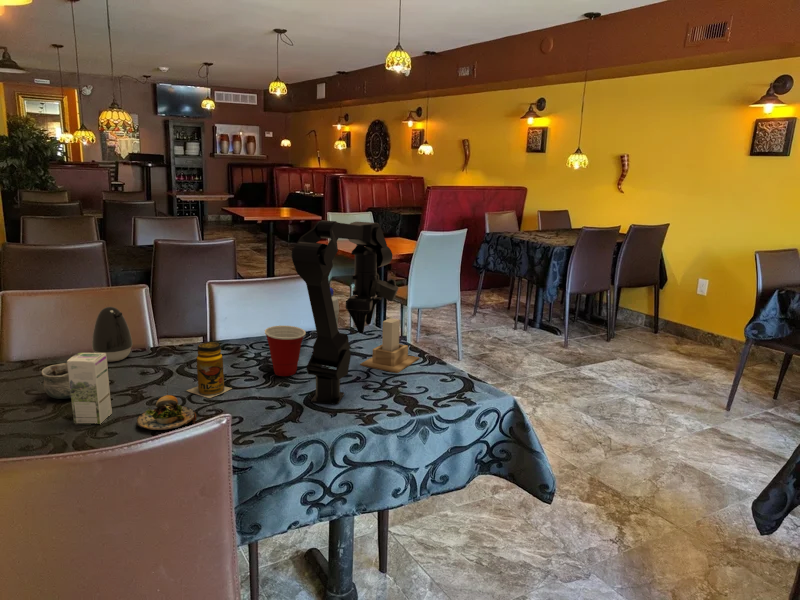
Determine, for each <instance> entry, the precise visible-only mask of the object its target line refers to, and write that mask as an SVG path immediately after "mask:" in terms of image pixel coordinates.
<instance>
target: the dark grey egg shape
mask: <svg viewBox="0 0 800 600" xmlns="http://www.w3.org/2000/svg"><path fill="white" fill-rule="evenodd" d="M130 330H131V329H130V328H129V325H128V323H127V320H126V319H125V316H124V314H123V312H122V311H120V310H119V309H118V308H117V307H115V306H106V307H104V308H102V309H101V310H100V311H99V313H98V315H97V317H96V319H95V323H94V326H93V332H92V339H91V349H92V351H93V353H106V357H107V363H110V362H111V363H112V362H119V361H122V360H124V359H126V358H127V357H128V356H129V354H130V352H131V350H132V347H133V338H132V334H131V331H130Z"/></svg>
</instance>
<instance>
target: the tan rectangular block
mask: <svg viewBox="0 0 800 600" xmlns="http://www.w3.org/2000/svg"><path fill="white" fill-rule="evenodd" d="M400 322H401V321H400V318H399V319H398V318H393V317H392V318H391V317H390V318H387V319H386V320H385V319H384V320H383V321H382V342H381V345H382V350H386V351H391V352H393V351H395V350H397V349H399V344H400Z"/></svg>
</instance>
